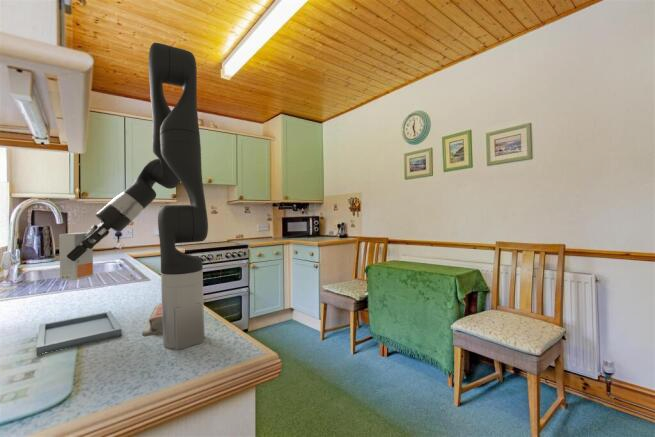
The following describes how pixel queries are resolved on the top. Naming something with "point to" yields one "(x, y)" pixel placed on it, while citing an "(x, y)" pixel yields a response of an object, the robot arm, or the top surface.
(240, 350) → the top surface
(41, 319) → the top surface
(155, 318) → the packaged product
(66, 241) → the skincare box
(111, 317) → the tray
